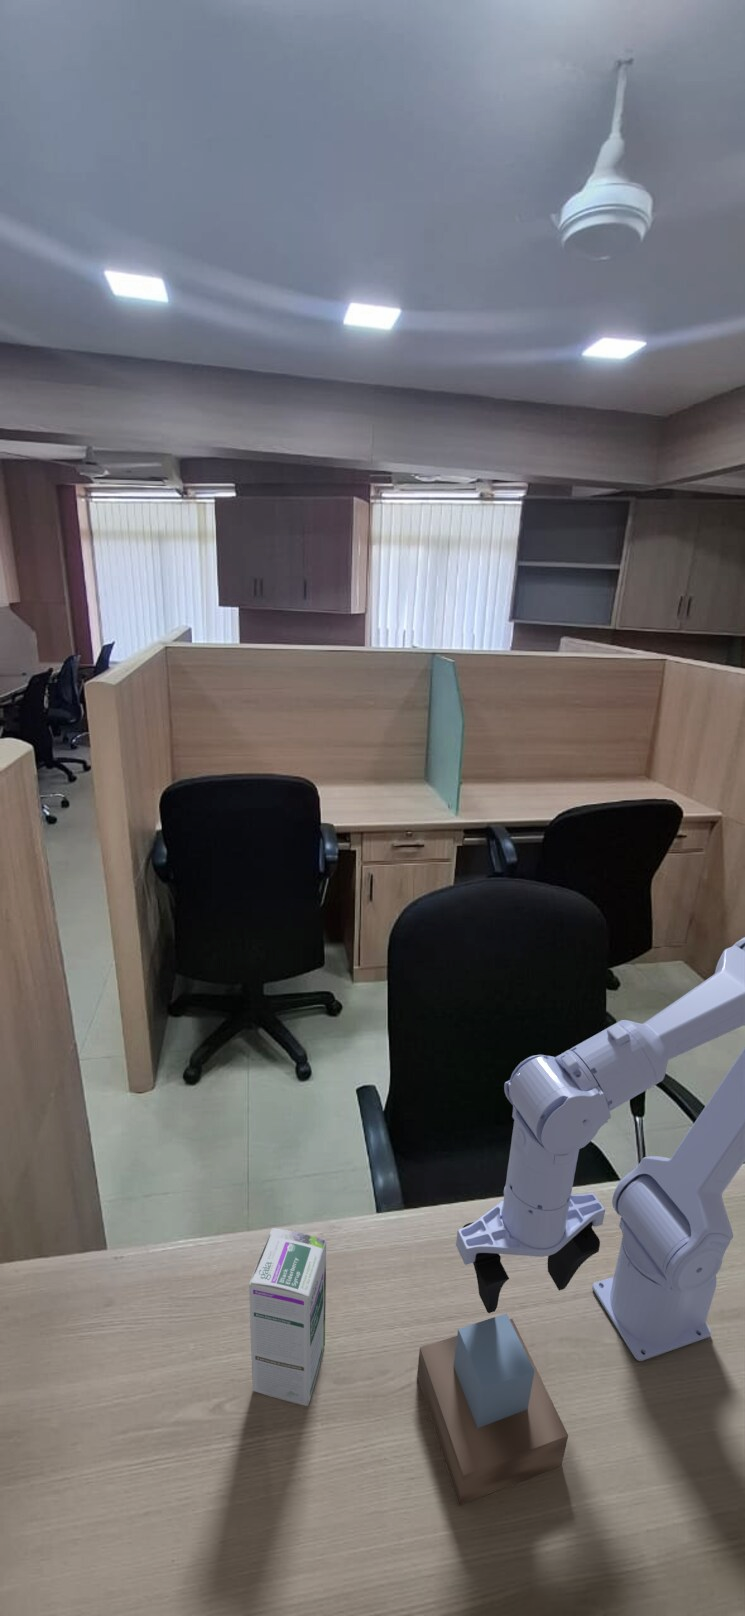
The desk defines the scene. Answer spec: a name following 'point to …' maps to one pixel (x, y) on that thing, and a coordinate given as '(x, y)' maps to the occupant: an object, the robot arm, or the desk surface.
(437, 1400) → the walnut block
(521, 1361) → the blue cube
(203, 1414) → the desk surface
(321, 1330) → the syrup box
